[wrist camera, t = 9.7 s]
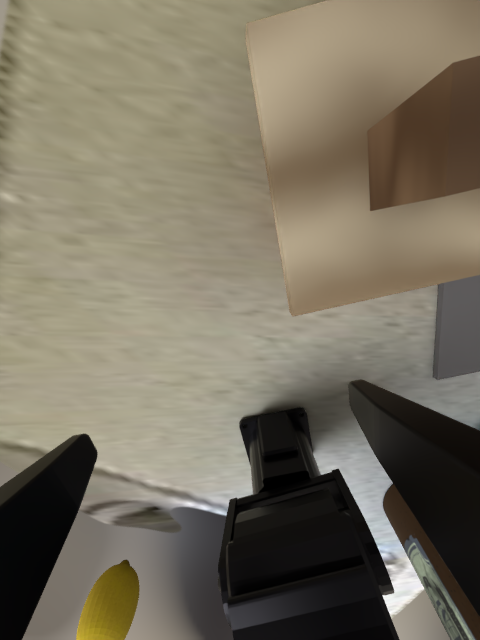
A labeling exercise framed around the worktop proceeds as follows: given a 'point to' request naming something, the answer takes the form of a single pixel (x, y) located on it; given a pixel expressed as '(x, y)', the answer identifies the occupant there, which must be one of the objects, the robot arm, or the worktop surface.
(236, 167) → the worktop surface
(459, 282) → the mat
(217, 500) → the worktop surface
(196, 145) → the worktop surface
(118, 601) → the lemon
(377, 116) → the lid
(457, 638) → the olive oil
